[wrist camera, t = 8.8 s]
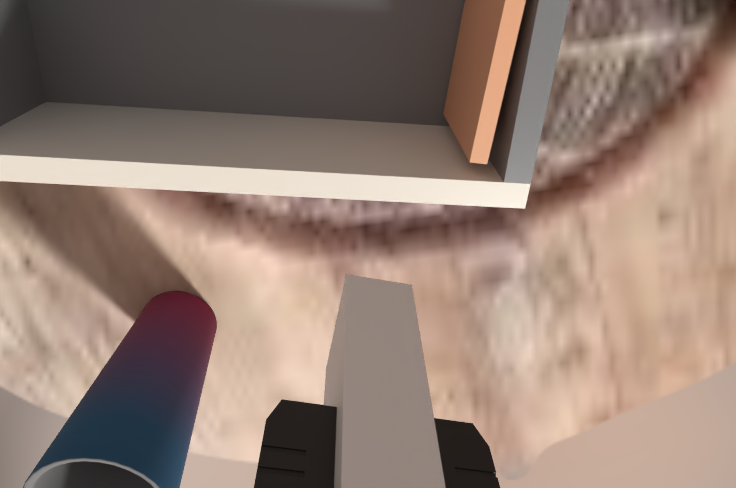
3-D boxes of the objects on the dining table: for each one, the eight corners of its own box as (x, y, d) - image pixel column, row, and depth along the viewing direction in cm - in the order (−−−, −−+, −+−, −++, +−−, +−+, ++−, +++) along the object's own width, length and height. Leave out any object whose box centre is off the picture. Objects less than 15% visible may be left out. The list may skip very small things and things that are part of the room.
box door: (476, -59, 28) (518, -59, 21) (491, -57, 29) (538, -55, 21) (443, 113, 32) (469, 162, 25) (457, 115, 33) (487, 164, 25)
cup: (122, 278, 38) (3, 458, 25) (226, 280, 39) (161, 458, 25) (138, 359, 41) (39, 557, 28) (233, 360, 42) (179, 556, 28)
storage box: (517, -64, 30) (583, -65, 21) (482, 143, 35) (524, 208, 26) (-9, -106, 28) (-161, -126, 20) (36, 116, 33) (-70, 177, 25)
